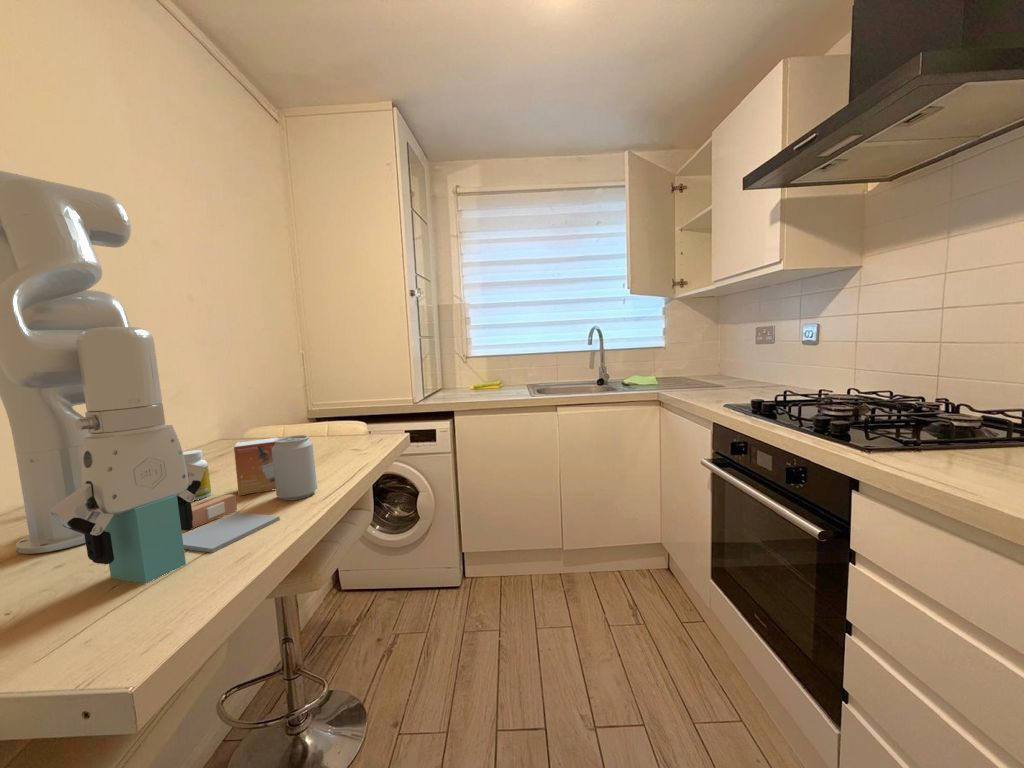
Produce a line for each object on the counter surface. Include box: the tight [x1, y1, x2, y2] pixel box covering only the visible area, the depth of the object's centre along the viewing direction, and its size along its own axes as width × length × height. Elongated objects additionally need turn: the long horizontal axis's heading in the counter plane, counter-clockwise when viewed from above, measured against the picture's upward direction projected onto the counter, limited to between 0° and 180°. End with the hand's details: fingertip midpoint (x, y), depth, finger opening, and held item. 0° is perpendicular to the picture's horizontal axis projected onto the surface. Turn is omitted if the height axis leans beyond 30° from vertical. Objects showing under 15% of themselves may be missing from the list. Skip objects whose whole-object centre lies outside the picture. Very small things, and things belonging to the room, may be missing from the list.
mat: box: [182, 511, 281, 554], centre depth 70 cm, size 10×12×1 cm
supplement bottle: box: [183, 449, 212, 501], centre depth 89 cm, size 5×5×10 cm
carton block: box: [104, 495, 187, 584], centre depth 58 cm, size 7×5×10 cm
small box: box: [233, 436, 279, 496], centre depth 92 cm, size 8×6×10 cm
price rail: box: [181, 493, 238, 534], centre depth 73 cm, size 2×16×3 cm, turn 162°
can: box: [271, 434, 318, 501], centre depth 86 cm, size 8×8×12 cm
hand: (146, 544), depth 58 cm, fingers open, 9 cm apart
